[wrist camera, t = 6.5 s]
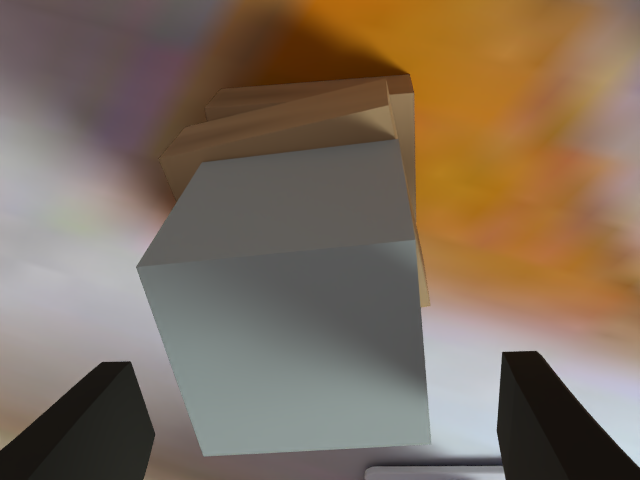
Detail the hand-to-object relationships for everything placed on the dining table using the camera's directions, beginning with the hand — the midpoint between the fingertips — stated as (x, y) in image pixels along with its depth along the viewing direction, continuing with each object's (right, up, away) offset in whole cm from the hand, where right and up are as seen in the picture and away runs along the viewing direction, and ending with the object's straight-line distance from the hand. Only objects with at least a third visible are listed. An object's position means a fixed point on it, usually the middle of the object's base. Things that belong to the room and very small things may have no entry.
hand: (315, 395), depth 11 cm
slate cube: (0, +3, +4) cm, 5 cm away
